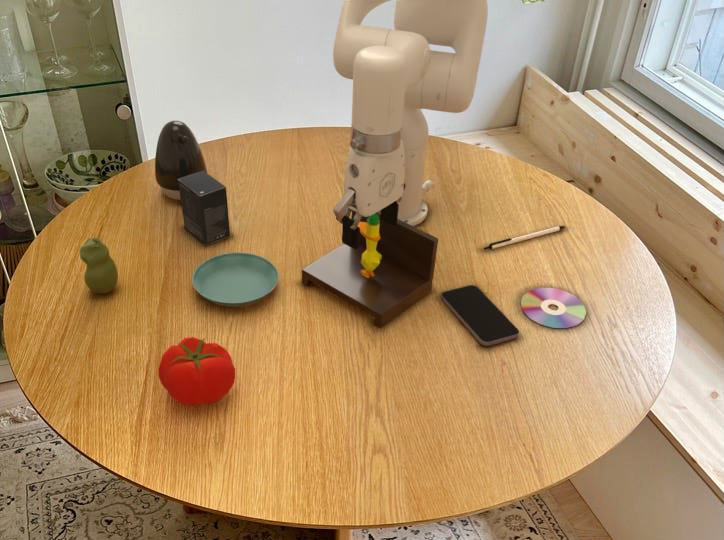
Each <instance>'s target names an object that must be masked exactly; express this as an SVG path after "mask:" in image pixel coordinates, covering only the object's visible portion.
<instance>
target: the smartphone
mask: <svg viewBox="0 0 724 540" xmlns="http://www.w3.org/2000/svg"><path fill="white" fill-rule="evenodd" d="M440 299H441V300H442V302H443V303H444V304H445V305H446V306H447V308H449V310H450V311H451V312H452V313H453V314H454V315H455V317H456V318H457V319H458V320H459V321H460V322H461V323H462V324H463V325H464V327H465V328H466V329H467V330H468V331H469V333H471V335H472V336H473V337H474V338H475V339H476V340H477V342H478V343H479V344H480V345H482V346H487V347H488V346H492V345H496V344H500V343H503V342H507V341H510V340H514V339H517V338H518V337H519V335H520V330H519V328H517V326H516V325H515V324H514V323H513V322H512V321H511V320H510V319H509V318H508V317H507V316H506V315H505V314H504V313H503V312H502V311H501V310H500V308H498V307H497V306H496V305H495V304H494V303H493V302H492V301H491V299H490V298H489V297H488V296H487V295H486V294H485V293H484V292H483V291H482V290H481V289H480V288H479V287H478V286H476V285H474V284H469V285H465V286H462V287H461V286H460V287H458V288H453V289H449V290H445V291H442V292H441V295H440Z"/></svg>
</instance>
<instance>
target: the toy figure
mask: <svg viewBox="0 0 724 540" xmlns="http://www.w3.org/2000/svg"><path fill="white" fill-rule="evenodd" d="M378 218H379V216H378V215H377V214H373V215H371V216H369V218H368V219H367V223H366V222H359V224H358V227H359V228H360V233H361V234H362V235H363V236H364V237H365V238H366V244H367V250H366V251H365V252H364V253H363V254H362V260H361V263H362V265H363V266H364V268H365V269H366V270H361V274H362V275H363V276H364V277H366V278H369V277H370V276H372V277H373V276H374V273H373V270H374V269H375V268H376V267H377V266H378V265H379V263H380V262H379V261H380V260H381V258H382V255H381V254H380V253H378V252H377V251H376V247H377V242H378V241H379V240H380V234H379V225H380V224H379V223H380V221H379V219H378ZM369 275H370V276H369Z"/></svg>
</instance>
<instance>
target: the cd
mask: <svg viewBox="0 0 724 540" xmlns="http://www.w3.org/2000/svg"><path fill="white" fill-rule="evenodd" d="M550 305H554V306H556V307H557V309H556V310H553V309H551V308H549V306H550ZM520 307H521V311H522V312H523V313H524V314H525V315H526V317H528V319H530V320H532V321H533V322H535V323H537V324H539V325H540V326H545V327H549V328H552V329H568V328H573V327H576V326H578V325H580V324H581V323H582V322H583V321H584V320H585V318H586V316H587V315H586V314H587V310H586V307H585V304H584V303H583V302H582V301H581V300H580V299H579V298H578V297H577V296H576V295H574V294H572V293H570V292H568V291H566V290H563V289H558V288H555V287H537V288H534V289H530V290H529V291H528V292H526V293H524V294H523V295H522V298H521V299H520Z"/></svg>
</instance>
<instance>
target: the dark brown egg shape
mask: <svg viewBox="0 0 724 540" xmlns="http://www.w3.org/2000/svg"><path fill="white" fill-rule="evenodd" d="M200 171H205V172H206V173H207V174H208V169H207V165H206V161H205V157H204V154H203V152H202V149H201V147H200V144H199V142H198V140H197V138H196V136H195V134H194V132H193V131H192V130H191V129H190V127H189V126H188V125H187V124H186V123H185V122H183V121H181V120H171V121H168V122H166V123H165V124H164V125H163V127H162V129H161V131H160V133H159V136H158V139H157V144H156V149H155V158H154V177H155V181H156V183H157V184H158V186H159V188H160V190H161V191H162V192H163V193H164V194H165V196H167V197H168V198H171V199H172V200H176V201H181V198H180V191H179V184H178V179H179V178H181V177H185V176H188V175H191V174H194V173H197V172H200Z"/></svg>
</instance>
